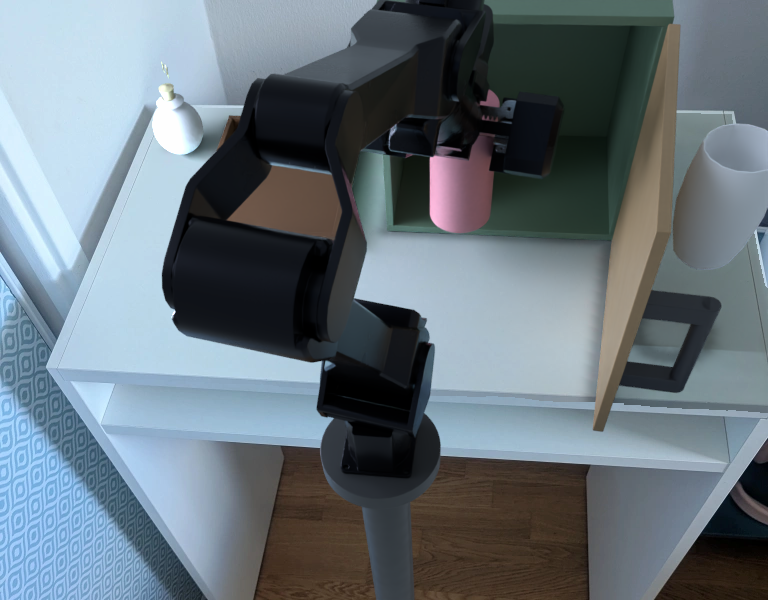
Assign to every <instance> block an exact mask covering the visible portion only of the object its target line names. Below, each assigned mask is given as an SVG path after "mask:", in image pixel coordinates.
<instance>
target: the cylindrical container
mask: <svg viewBox="0 0 768 600" xmlns="http://www.w3.org/2000/svg"><path fill="white" fill-rule="evenodd" d="M480 105H485V106H492V107H500V102H499V99H498V97H497V96H496V94H495V93H494V92H492V91H491V90H489V91H488V96H487V101H486V102H485V101H481V102H480ZM482 120H488V121H494V120H493V117H492V119H491V120H489V116H488V117H487V119H485V118H484V116H483V118H482ZM495 122H498V117H497V118H496V120H495ZM493 142H494V138H492V137H485V136H478V138H477V140H476V142H475V143H474V144H473V145H472V148H471V154H470V159H469V161H466V160H459V159H453V158H446V157H439V156H434V157H430V217H431V219H432V221H433V222H434V224H435V225H436V226H438V227H439V228H441V229H443V230H445V231H448V232H452V233H467V232H472V231H475V230H477V229H479V228H481V227H482V226H484V225H485V224H486V223H487V221H488V220H489V218H490V213H491V202H492V190H493V178H494V172H493V171H489V167H490V162H491V157H492V152H493V147H494V144H493Z"/></svg>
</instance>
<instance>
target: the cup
mask: <svg viewBox="0 0 768 600" xmlns="http://www.w3.org/2000/svg"><path fill="white" fill-rule="evenodd" d="M767 210H768V130H767V129H766V128H764V127H760V126H757V125H753V124H751V123H750V124H748V123H735V122H734V123H729V124H723V125H719V126H718V127H715V128H713V129H712V130H710V131H708V133H707V134H706V135H705V136H704V138H703V139H702V141H701V143H700V145H699V147H698V148H697V151H696V152H695V154H694V155H693V159H691V162H690V164H689V166H688V167H687V170H686V172H685V175H684V177H683V180H682V183H681V185H680V187H679V190H678V193H677V195H676V199H675V205H674V212H673V217H672V251H673V253H674V254H675V256H676V258H677V259H678V260H680V262H682V263H684V264H685V265H687V266H688V267H689V268H690V269H694V270H698V271H704V270H707V271H708V270H709V271H711V270H715V269H721V268H723V267H724V266H726V265H728V264H730V263H731V261H733V259H735V258H736V257H737V255H738V254H739V253H740V252H741V251H742V250H743V249H745V246H746V245H747V243H748V242H749V240H751V238H752V236H753V235H754V234H755V232H756V231H757V229H758V227H759V226H760V224H761V222H762V221H763V219H764V218H765V215H766V213H767Z"/></svg>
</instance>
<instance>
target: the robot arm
mask: <svg viewBox="0 0 768 600" xmlns="http://www.w3.org/2000/svg"><path fill="white" fill-rule="evenodd" d="M484 1H485V0H405V2H400V1H391V0H379V1H378V2H377V1H376V2H377V3H376V2H375V4H374V5H373V6H372V7H371V9H368V11H367V12H365V13H364V14H363V15H362V16H361V17H360V18H359V20H357V21H356V22H355V23H354V24H353V25H352V27H351V28H350V39H349V42H348V44H347V46H346V48H343V49H340V50H337V51H335V52H333V53H331V54H329V55H326V56H324V57H322V58H319V59H317V60H315V61H312V62H310V63H307V64H305V65H303V66H301V67H298V68H296V69H293V70H291V71H288V72H286V73H284V74H282V73H281V74H280V73H270V74H269V75H268V76H267V77H266V78H260V77H257V78H256V79H255V80H254V81H252V83H251V84H250V87H249V89H248V91H247V94H246V96H245V100H244V103H243V107H242V110H241V114H240V116H241V117H240V120H239V124H238V127H237V129H236V131H235V132H234V133H233V134H232V135H231V136H230V137H229V138H228V139H227V140H226V141H225V142H224V143H223V144H222V145H221V147H220V148H219V149H218V150H217V149H216V150H217V151H216V150H215V152H214V153H213V154H212V155H211V156H210V157H209V158H208V159H207V160H206V161H205V162H204V163H203V164H202V166H201V167H199V168H198V170H197V171H195V173H194V174H193V175H192V176H191V177H190V178H189V180H188V181H187V183H186V185H185V187H184V190H183V194H182V198H181V201H180V204H179V208H178V211H177V214H176V218H175V221H174V224H173V228H172V231H171V235H170V238H169V241H168V245H167V248H166V252H165V254H164V258H163V265H162V270H161V289H162V293H163V298H164V300H165V302H166V304H167V305H168V307H169V308H170V309H171V310H174V311H173V313H172V315H171V317H170V318H171V321H172V323H173V325H174V327H175V328H176V329H177V331H178V332H180V333H181V334H183V335H184V336H186V337H188V338H193V339H197V340H201V341H202V340H203V341H208V342H212V343H217V344H221V345H226V346H231V347H235V348H240V349H244V350H249V351H254V352H259V353H264V354H268V355H272V356H277V357H282V358H287V359H292V360H296V361H301V362H306V363H319V362H321V365H320V366H321V367H320V373H319V374H320V375H319V388H318V395H317V401H316V409H315V410H316V411H317V413H318V414H319V415H320V417H323V418H326V419H328V418H330V419H331V418H332V419H334V418H335V419H340V420H344V421H345V425H346V432H347V433H346V439H345V444H344V450H343V455H342V461H341V466H340V467H341V471H342V473H344V474H354V475H367V476H380V477H392V478H405V479H407V478H410V477H411V476H412V470H413V462H414V455H415V447H416V439H417V432H418V429H419V426H420V423H421V420H422V417H423V415H424V413H425V411H426V409H427V407H428V404H429V401H430V397H431V391H432V381H433V372H434V365H435V363H434V362H435V355H436V345H435V343H432V342H430V339H431V337H430V336H431V335H430V333H429V330H428V328H427V327H426V325H427V321H428V318H427V317H422V316H421V313H420V312H418V311H417V310H415V309H412V308H407V307H401V306H397V305H391V304H386V303H380V302H377V301H371V300H367V299H366V300H365V299H362V298H361V299H360V298H355V296H356V292H357V290H358V289H357V288H358V285H359V281H360V277H361V275H362V270H363V266H364V262H365V259H366V255H367V252H368V241H367V238H366V234H365V231H364V227H363V223H362V220H361V216H360V213H359V209H358V206H357V201H356V199H355V195H354V192H353V187H352V188H351V183H352V180H353V176H354V172H355V169H356V170H357V168H356V165H357V166H358V163H357V162H359V159H358V158H360V155H361V152H363V153H370V154H377V155H382V154H383V155H389V156H396V157H402V158H407V157H409V156H412V155H420V156H427V157H434V156H439V157H446V158H453V159H459V160H466V161H469V159H470V154H471V148H472V145H473V144H474V143H475V142H476V140H477V138H478V136H485V137H492V138H494V142H493V144H494V147H493V152H492V157H491V162H490V167H489V171H493V172H500V173H506V174H513V175H518V176H525V177H531V178H538V179H544V178H545V177H546V176H548V175H549V174H550V173H551V169H552V164H553V160H554V155H555V151H556V146H557V142H558V137H559V133H560V128H561V124H562V119H563V115H564V105H563V103H562V101H561V99H560V98H559V97H558V96H550V95H543V94H535V93H528V92H519V94H518V97H517V99H513V98H505V97H504V98H503V102H502V106H501V107H492V106H485V105H480V102H481V101H485V102H486V101H487V96H488V91H489V83H488V81H487V74H488V69H489V66H488V61H489V57H490V53H491V50H492V47H493V44H494V29H493V11H492V9H491V8H490V7H489V6H488V5H486V4H484ZM483 116H484V118H485V119H487V117H488V116H489V120H491V119H492V117H493V120H494V121H488V120H482V118H483ZM497 117H498V122H495V120H496V118H497ZM272 165H275V166H281V167H287V168H293V169H300V170H306V171H312V172H318V173H324V174H331V175H332V177H333V180H334V184H335V188H336V191H337V195H338V198H339V202H340V206H341V209H342V214H341V217H340V221H339V225H338V228H337V232H336V235H335V239H334V240H331V239H328V238H323V237H317V236H312V235H306V234H301V233H295V232H289V231H284V230H278V229H273V228H267V227H262V226H256V225H251V224H245V223H239V222H234V221H228V220H227V219H228V218H229V217H230V216H231V215H232V214H233V213H234V212H235V211H236V210H237V209H238V208H239V207H240V206H241V204H242V203H243V202H244V201H245V200H246V199H247V198H248V197H249V196H250V195H251V194H252V193H253V192H254V191H255V190H256V189H257V188H258V187H259V185H260V184H261V183H262V182H263V181H264V180H265V179H266V178H267V177H268V175H269V173H270V171H271V168H272ZM355 173H356V172H355ZM345 467H348V469H344V468H345ZM406 471H407V472H409V473H408V474H405V473H404V472H406Z"/></svg>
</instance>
